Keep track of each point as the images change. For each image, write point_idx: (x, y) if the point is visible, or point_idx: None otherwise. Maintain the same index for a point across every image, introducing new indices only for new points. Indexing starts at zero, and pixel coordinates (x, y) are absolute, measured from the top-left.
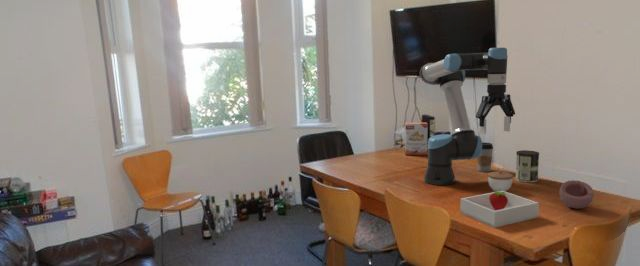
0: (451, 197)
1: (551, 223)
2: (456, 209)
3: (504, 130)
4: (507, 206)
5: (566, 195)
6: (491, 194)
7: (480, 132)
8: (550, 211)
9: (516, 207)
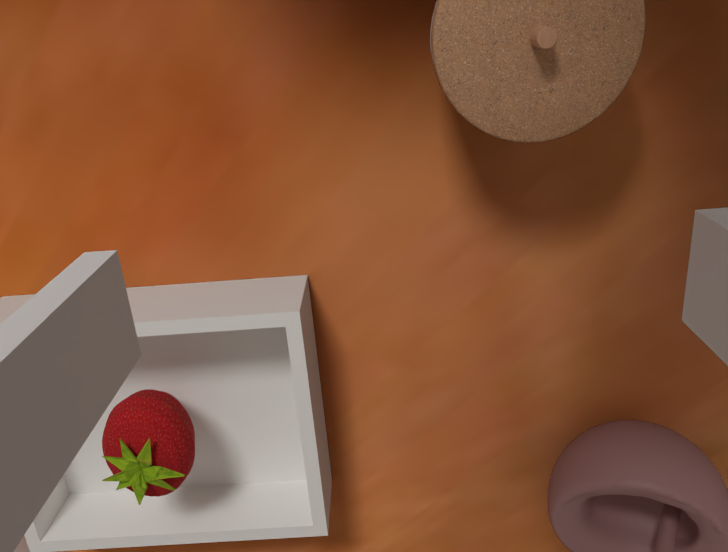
0: (81, 26)
1: (332, 541)
2: (6, 243)
3: (694, 230)
4: (282, 349)
5: (554, 514)
6: (114, 431)
7: (78, 268)
8: (454, 445)
9: (173, 544)
